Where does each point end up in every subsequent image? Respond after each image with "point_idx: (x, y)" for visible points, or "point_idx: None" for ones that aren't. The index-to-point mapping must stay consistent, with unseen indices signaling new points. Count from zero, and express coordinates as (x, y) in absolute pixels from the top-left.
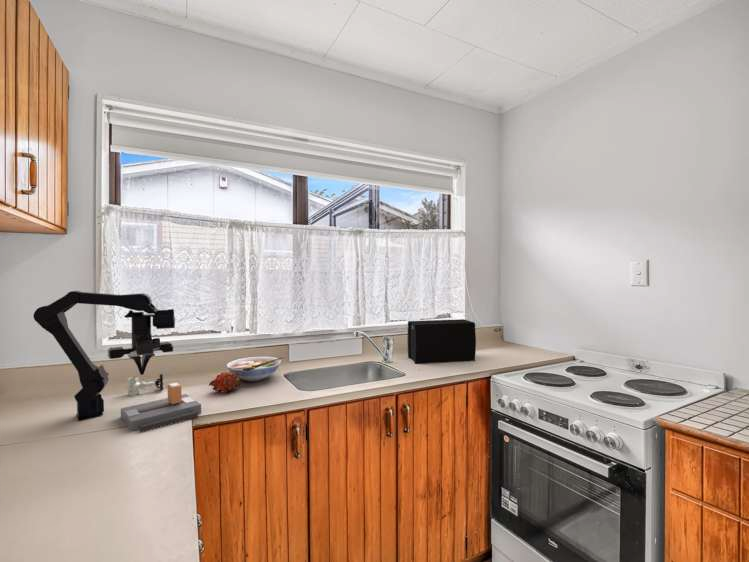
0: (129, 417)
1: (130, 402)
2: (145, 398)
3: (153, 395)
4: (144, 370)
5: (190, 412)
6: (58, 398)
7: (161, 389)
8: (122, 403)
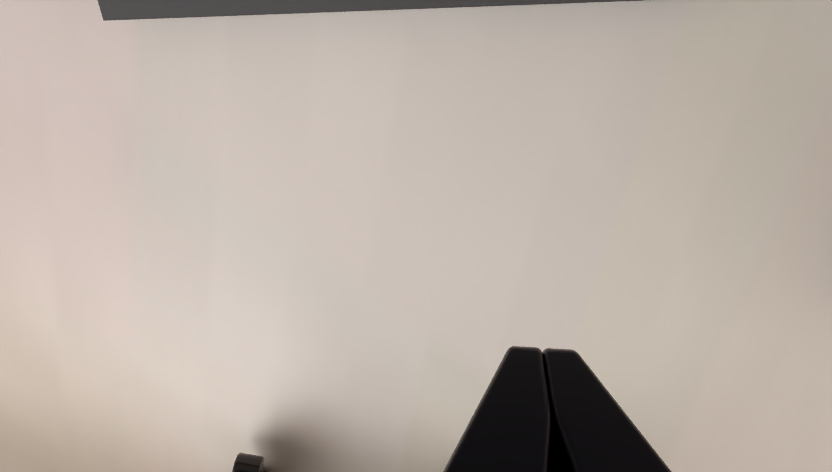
0: None
1: (553, 346)
2: (412, 365)
3: (334, 397)
4: (485, 410)
5: None
6: None
7: (252, 457)
8: (617, 366)
